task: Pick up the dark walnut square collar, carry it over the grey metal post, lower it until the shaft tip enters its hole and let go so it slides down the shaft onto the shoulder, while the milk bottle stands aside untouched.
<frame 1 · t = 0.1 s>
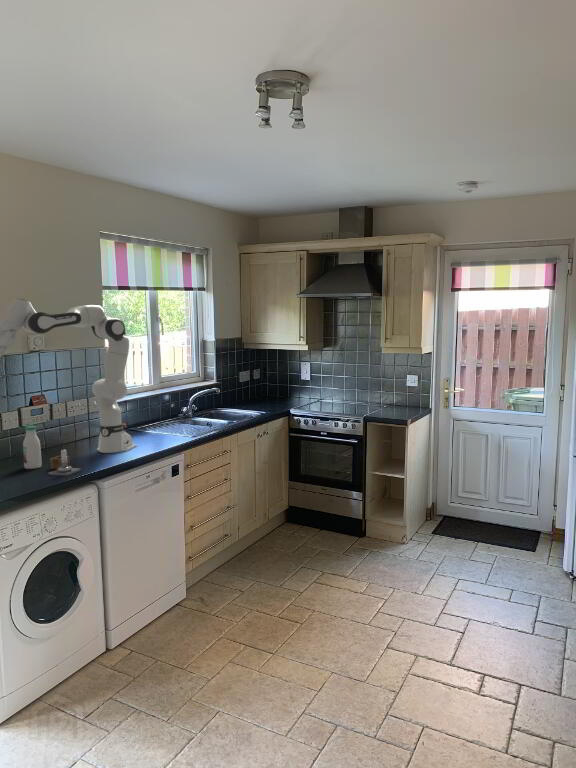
milk bottle: (33, 467, 276), on the countertop
post: (65, 472, 263), on the countertop
collar: (60, 467, 274), on the countertop
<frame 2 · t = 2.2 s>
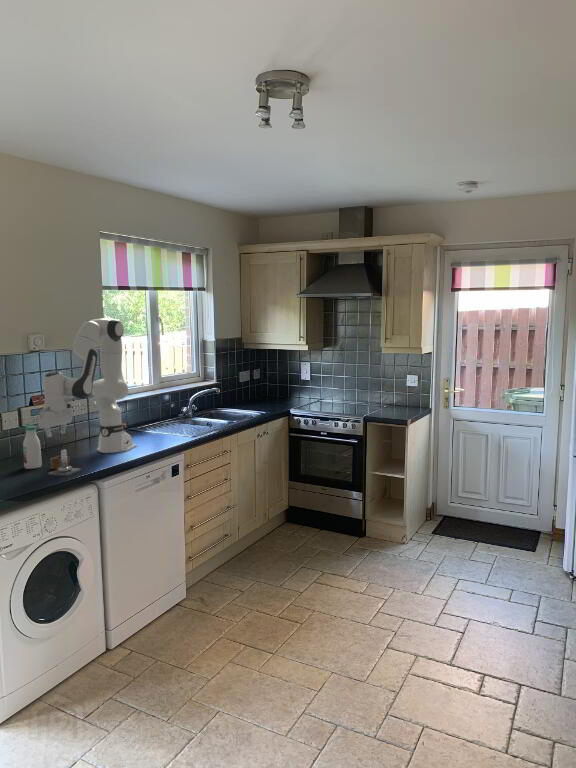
hand: (56, 435, 272), 16 cm above the countertop, tool pointing down, fingers open, 8 cm apart
nothing on the countertop moved.
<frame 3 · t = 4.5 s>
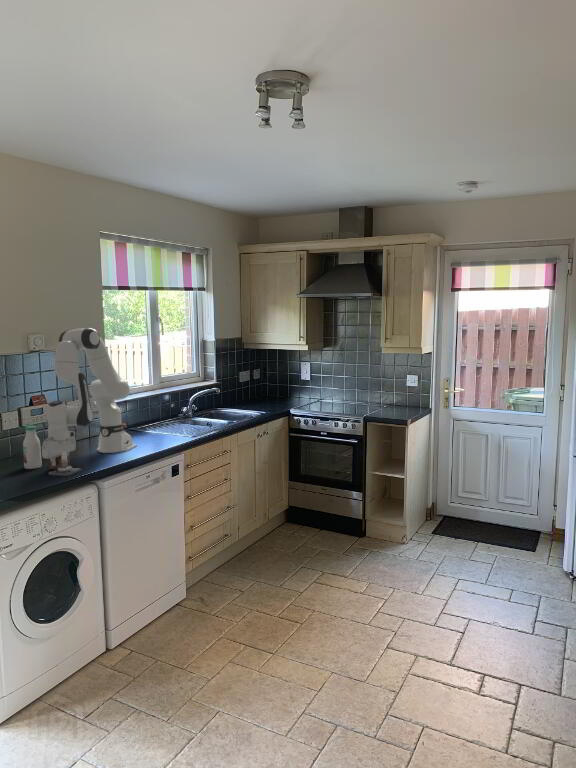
hand: (60, 463, 273), 2 cm above the countertop, tool pointing down, fingers closed on collar, 6 cm apart
collar: (60, 467, 274), on the countertop, touching gripper
everything else where it was.
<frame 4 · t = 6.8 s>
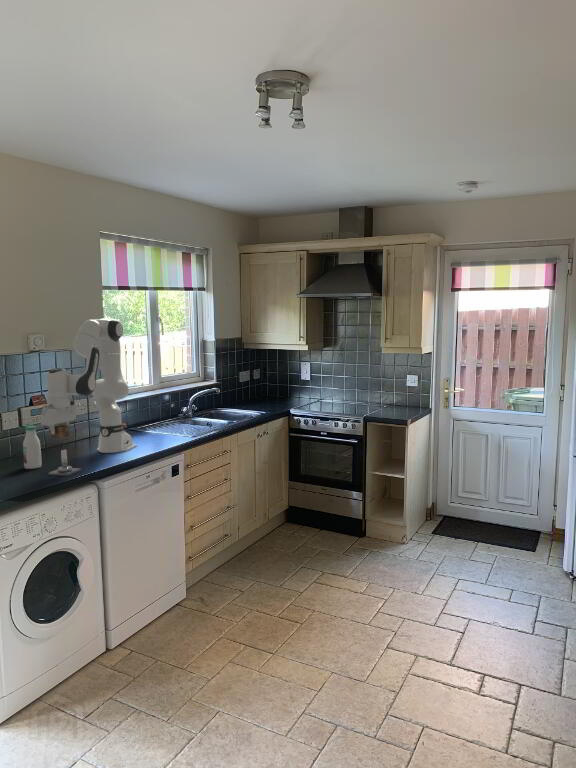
hand: (59, 432, 266), 18 cm above the countertop, tool pointing down, fingers closed on collar, 6 cm apart
collar: (59, 436, 267), point 16 cm above the countertop, touching gripper
everything else where it was.
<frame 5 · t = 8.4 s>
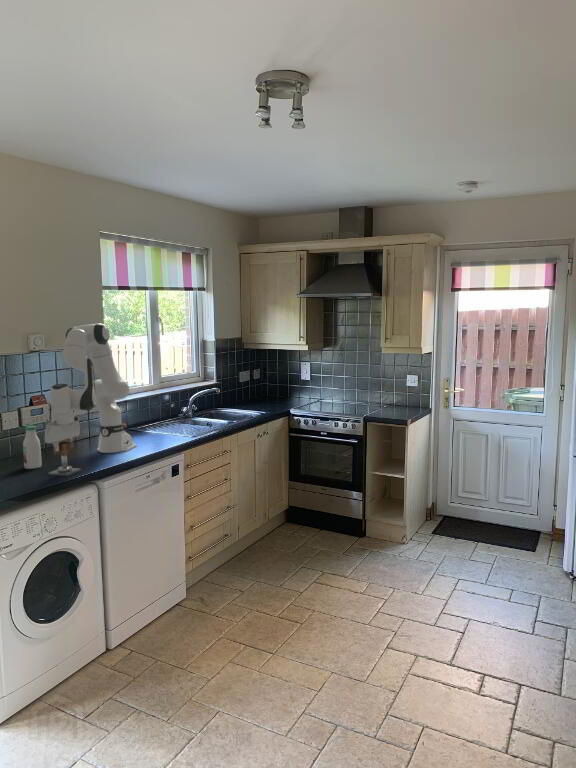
hand: (63, 449, 262), 11 cm above the countertop, tool pointing down, fingers closed on collar, 6 cm apart
collar: (63, 453, 262), point 9 cm above the countertop, touching gripper
everything else where it was.
when the fingers open (11 cm above the countertop, at t = 9.3 s): collar drops 6 cm, resting on post.
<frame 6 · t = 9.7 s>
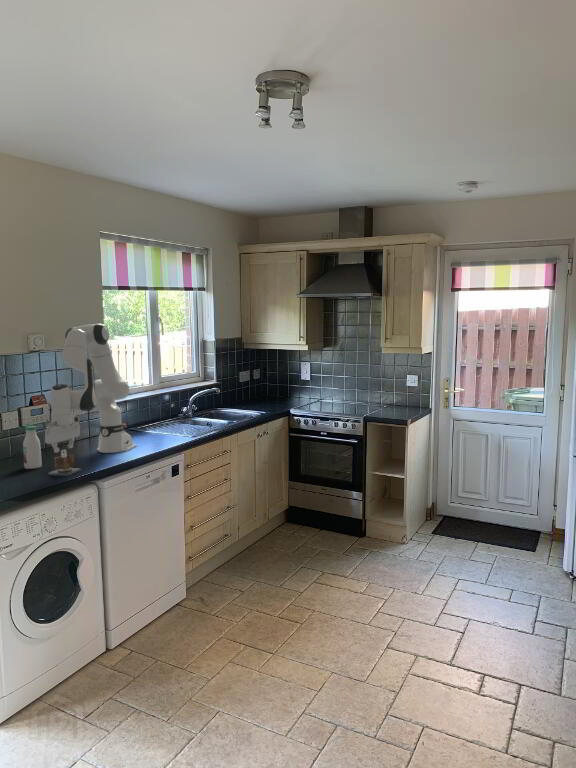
hand: (63, 450, 262), 11 cm above the countertop, tool pointing down, fingers open, 8 cm apart
collar: (64, 467, 263), point 2 cm above the countertop, touching post
everything else where it was.
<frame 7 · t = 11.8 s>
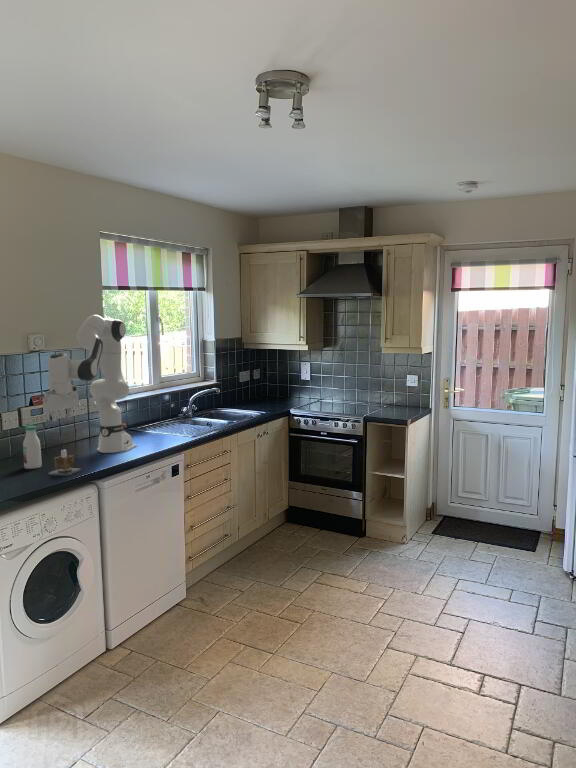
hand: (62, 419, 261), 25 cm above the countertop, tool pointing down, fingers open, 8 cm apart
nothing on the countertop moved.
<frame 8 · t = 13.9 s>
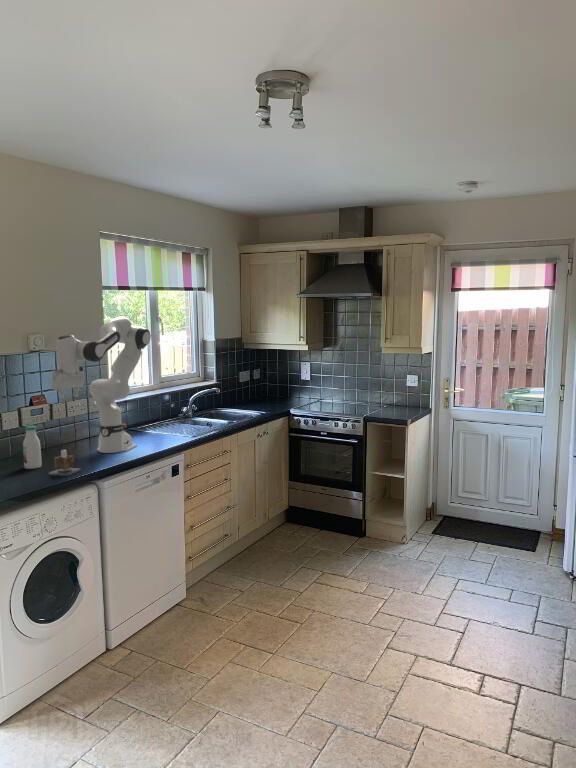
hand: (69, 397, 277), 33 cm above the countertop, tool pointing down, fingers open, 8 cm apart
nothing on the countertop moved.
at the end: collar 0.1 cm off-centre on the post, point 2.5 cm above the post's base; the gripper is holding nothing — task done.
